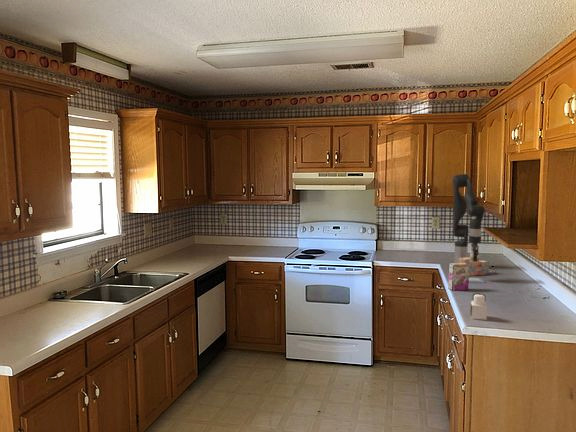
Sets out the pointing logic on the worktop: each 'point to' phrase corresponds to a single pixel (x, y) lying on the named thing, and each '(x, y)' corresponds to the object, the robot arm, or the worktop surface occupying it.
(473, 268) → the stack of blocks
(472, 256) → the cream and brown block
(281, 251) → the worktop surface
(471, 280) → the base plate
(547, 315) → the worktop surface
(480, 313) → the medicine bottle
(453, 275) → the candy bar box
